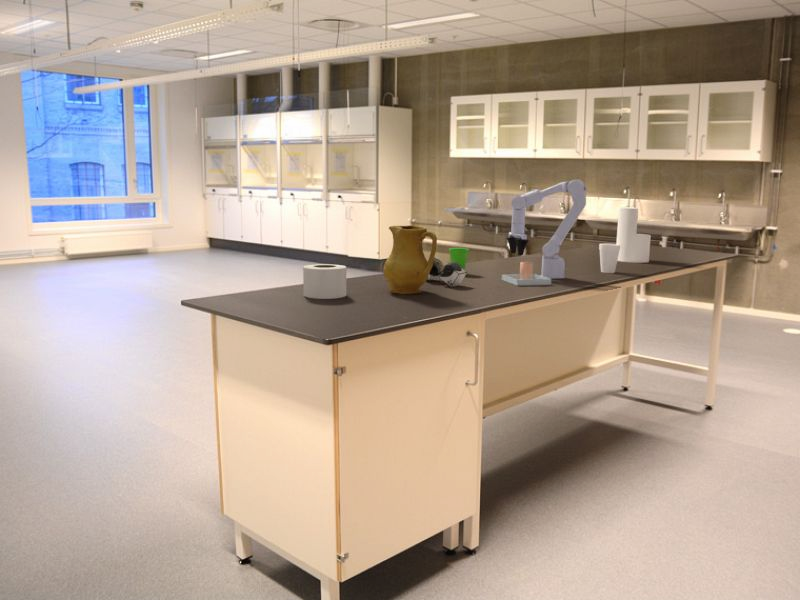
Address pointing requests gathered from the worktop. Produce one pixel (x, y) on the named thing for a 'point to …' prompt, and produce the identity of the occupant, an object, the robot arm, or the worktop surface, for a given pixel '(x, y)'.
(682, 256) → the worktop surface
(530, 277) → the tumbler
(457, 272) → the black white sneaker
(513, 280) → the tray
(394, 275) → the pitcher
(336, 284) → the white toilet paper roll
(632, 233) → the white l-shaped piece
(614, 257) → the foam cup
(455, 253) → the cup
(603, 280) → the worktop surface
